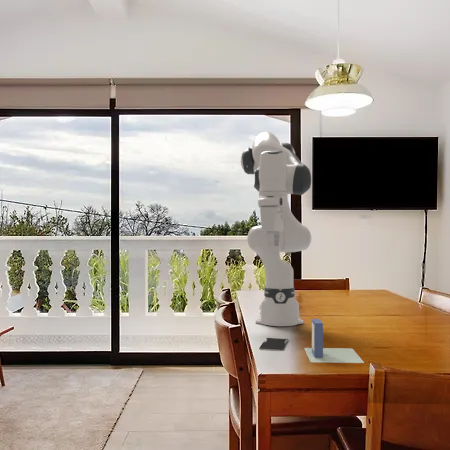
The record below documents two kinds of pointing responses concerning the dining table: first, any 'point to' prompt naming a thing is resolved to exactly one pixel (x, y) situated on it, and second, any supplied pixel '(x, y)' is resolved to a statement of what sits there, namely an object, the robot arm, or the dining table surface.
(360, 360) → the mat
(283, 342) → the smartphone
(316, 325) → the box
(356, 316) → the dining table surface
